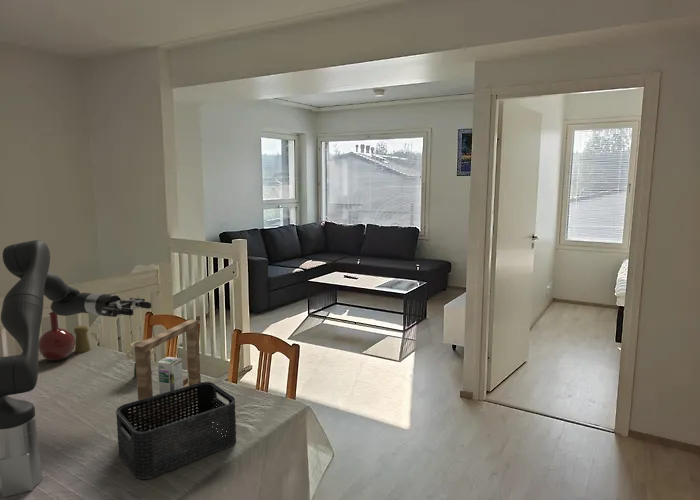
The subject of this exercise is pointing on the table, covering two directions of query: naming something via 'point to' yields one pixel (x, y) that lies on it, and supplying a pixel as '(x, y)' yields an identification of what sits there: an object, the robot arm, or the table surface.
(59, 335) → the round-bottom flask
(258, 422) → the table surface
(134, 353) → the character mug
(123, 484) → the table surface
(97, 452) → the table surface
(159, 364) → the syrup box
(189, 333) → the wooden frame stand
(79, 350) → the cork
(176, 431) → the storage bin
